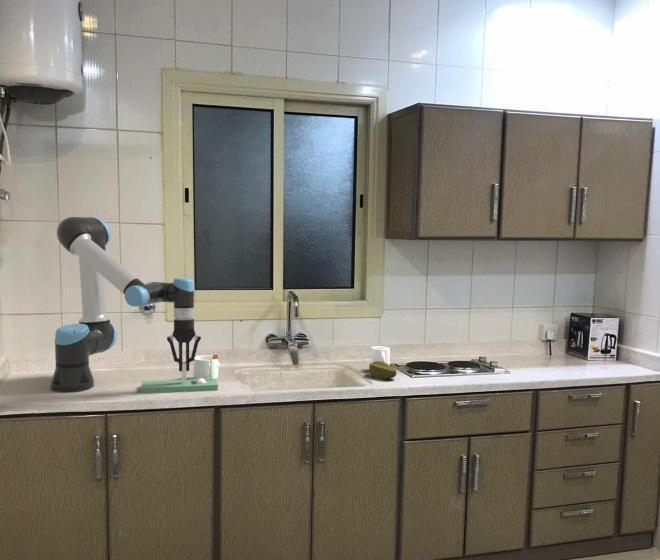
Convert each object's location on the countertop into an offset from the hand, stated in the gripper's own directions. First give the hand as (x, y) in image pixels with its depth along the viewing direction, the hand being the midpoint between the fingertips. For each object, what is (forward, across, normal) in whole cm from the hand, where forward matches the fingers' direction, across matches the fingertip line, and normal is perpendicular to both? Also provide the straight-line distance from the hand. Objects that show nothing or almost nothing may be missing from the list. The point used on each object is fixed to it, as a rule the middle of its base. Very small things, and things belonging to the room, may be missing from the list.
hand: (184, 379), depth 229 cm
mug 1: (+4, +9, +11) cm, 15 cm away
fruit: (+4, +82, +4) cm, 82 cm away
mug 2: (+4, +85, +14) cm, 86 cm away
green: (+3, -2, 0) cm, 4 cm away
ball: (+2, +6, 0) cm, 7 cm away
